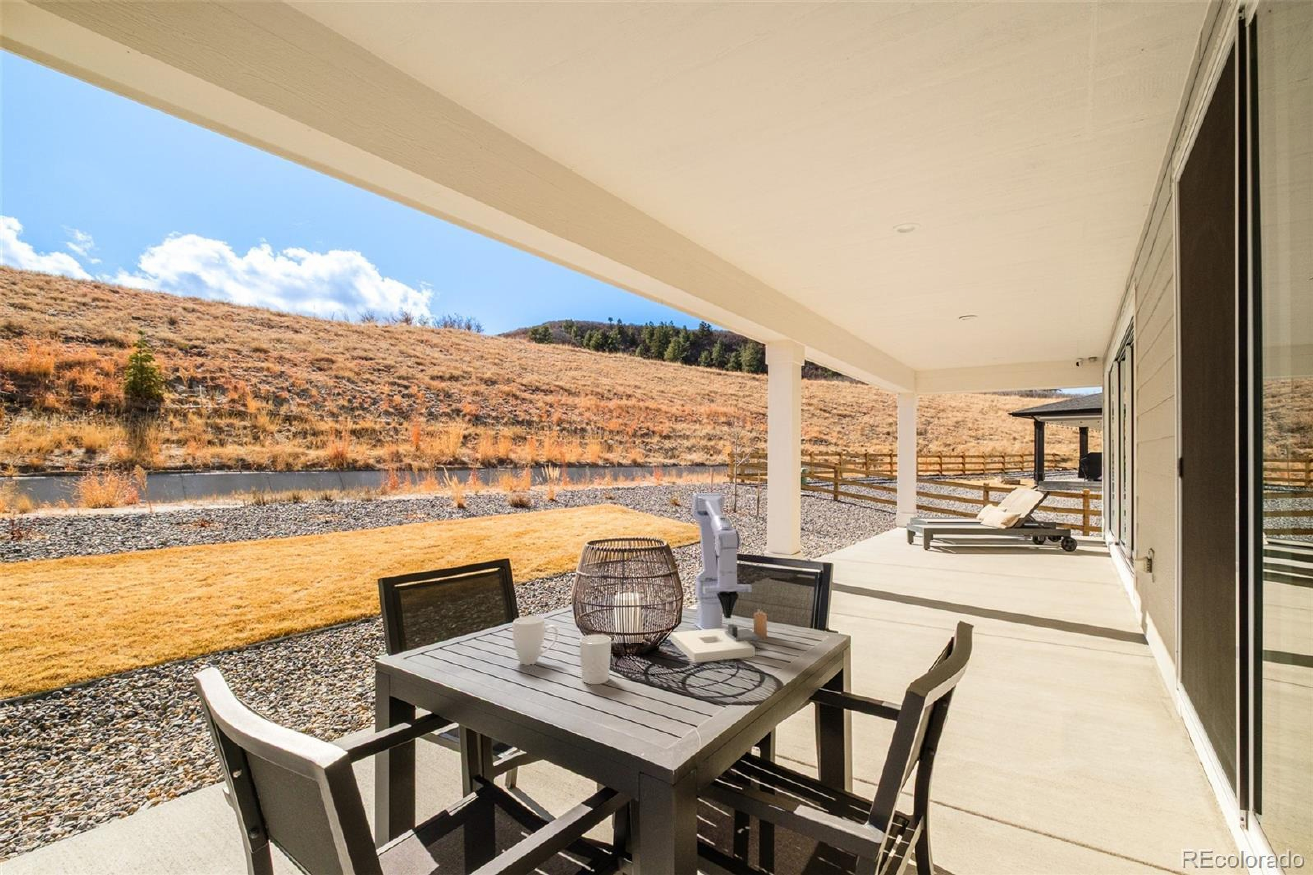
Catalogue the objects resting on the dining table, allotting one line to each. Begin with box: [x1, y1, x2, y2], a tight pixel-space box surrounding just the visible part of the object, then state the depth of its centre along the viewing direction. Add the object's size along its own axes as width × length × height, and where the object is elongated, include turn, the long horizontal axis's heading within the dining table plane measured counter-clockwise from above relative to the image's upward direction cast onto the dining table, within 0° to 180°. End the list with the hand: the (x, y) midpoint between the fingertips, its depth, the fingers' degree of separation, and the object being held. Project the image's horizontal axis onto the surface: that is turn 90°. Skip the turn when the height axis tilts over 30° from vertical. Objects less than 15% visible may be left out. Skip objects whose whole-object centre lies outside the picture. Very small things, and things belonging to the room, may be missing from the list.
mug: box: [512, 615, 559, 666], centre depth 160 cm, size 12×8×11 cm
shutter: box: [725, 624, 760, 641], centre depth 175 cm, size 8×8×3 cm
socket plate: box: [670, 627, 756, 664], centre depth 172 cm, size 20×18×2 cm
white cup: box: [579, 634, 612, 685], centre depth 148 cm, size 8×8×10 cm
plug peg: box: [753, 608, 768, 640], centre depth 184 cm, size 4×4×8 cm
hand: (727, 617), depth 174 cm, fingers closed
